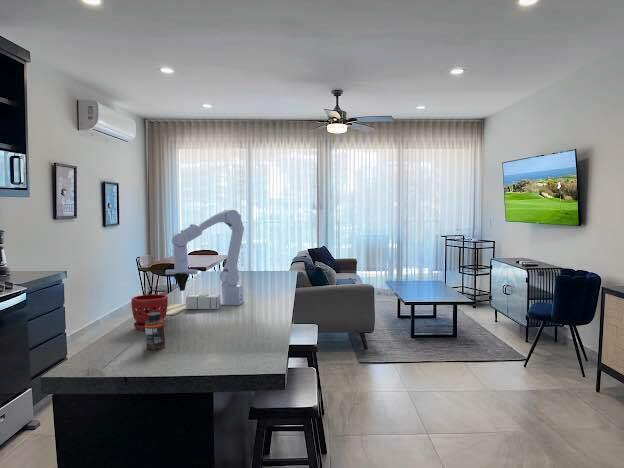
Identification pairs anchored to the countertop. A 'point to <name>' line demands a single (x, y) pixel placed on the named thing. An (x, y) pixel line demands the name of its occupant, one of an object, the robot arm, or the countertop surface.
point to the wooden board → (175, 309)
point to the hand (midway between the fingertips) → (182, 290)
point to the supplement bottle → (154, 331)
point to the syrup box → (202, 301)
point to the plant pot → (147, 303)
